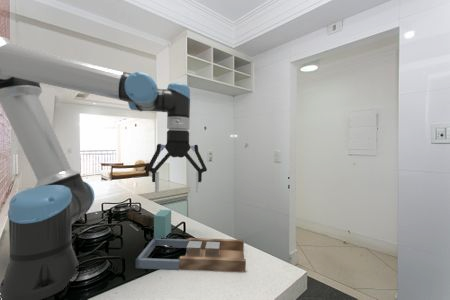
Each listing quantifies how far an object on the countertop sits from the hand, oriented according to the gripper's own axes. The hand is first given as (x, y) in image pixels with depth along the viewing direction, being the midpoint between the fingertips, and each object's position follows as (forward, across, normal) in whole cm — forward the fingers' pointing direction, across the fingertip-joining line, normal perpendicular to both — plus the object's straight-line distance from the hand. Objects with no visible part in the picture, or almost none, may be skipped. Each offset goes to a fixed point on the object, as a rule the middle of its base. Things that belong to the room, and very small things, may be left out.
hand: (177, 191), depth 74 cm
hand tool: (+19, -16, +21) cm, 33 cm away
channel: (+18, +12, -13) cm, 25 cm away
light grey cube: (+17, +12, -12) cm, 24 cm away
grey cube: (+17, +6, -12) cm, 22 cm away
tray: (+19, -2, -10) cm, 21 cm away
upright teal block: (+19, -5, +4) cm, 20 cm away
